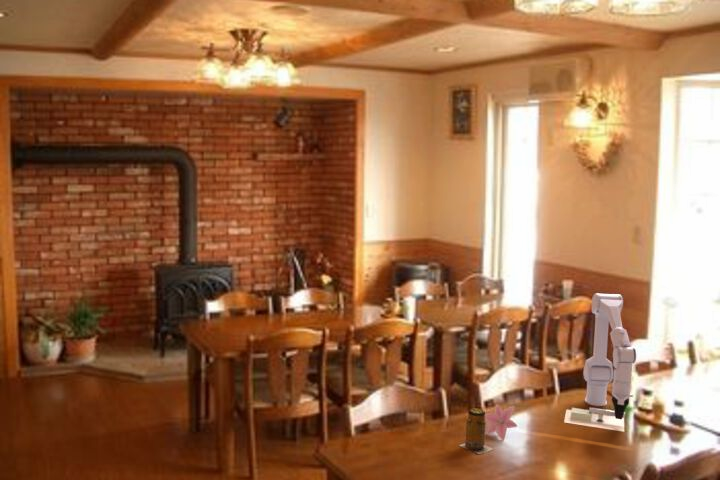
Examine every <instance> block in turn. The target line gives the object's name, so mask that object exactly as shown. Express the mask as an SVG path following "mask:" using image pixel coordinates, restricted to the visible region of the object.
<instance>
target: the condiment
mask: <svg viewBox="0 0 720 480" xmlns="http://www.w3.org/2000/svg"><path fill="white" fill-rule="evenodd" d="M485 414H486V412H485V410H483V409H481V408H470V409H468V413H467V418H466V423H465V425H466V426H465V439H464V443H462V444H459V445H458V446H460V447H461V448H464V449H466V450H469V451H471V452H473V453H474V454H475V453H476V454H478V455H480V454H484V453H488V452H489V451H493V450H494V448H492V447H490V446H488V445H486V444H485V441H486V440H485V439H486V437H485V436H486V425H487V424H486V423H487V422H486V420H485Z"/></svg>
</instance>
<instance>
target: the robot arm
mask: <svg viewBox="0 0 720 480" xmlns="http://www.w3.org/2000/svg"><path fill="white" fill-rule="evenodd" d="M623 307H624V298H623V296H622V295H621V294H619V293H616V294H615V293H611V294H610V293H598V292H596V293H594V294H593V296H592V298H591V313H592V314H594V315H595V320H594V322H595V323H594V336H593V349H592V350H593V354H592V356H591V357H589V358H588V359H586V360H585V362H584V367H583V373H582V374H583V379H584V380H585V382H586V396H585V398H584V401H585V403H586V404H588V405H591V406H595V407H603V406H606V405H607V402H608V401H607V394H608V393H607V392H608V385H610V383H612V390H611V395H612V396H611V401H612V405H613V407H614V411H615V416H614V417H615V418H616V419H622V418H624V417H623V415H624V412H626V411H625V410H626V409H627V407H628V405H629V404H630V398H633V397H634V393H631V385H632V384H631V383H632V375H633V374H632V373H633V364H635V363H636V361H637V351H636V348H635V346H634V345H633V344H632V343H631V342H630V338H629V337H630V336H629V335H628V331H627V329H625V328H623V323H622V317H621V312H622V309H623ZM609 325H610V328H611V331H610V333H609ZM609 336H610V340H611V343H612V348H613V352H612V358H613V359H612V361H610V360H609V359H608V358H607V354H608V337H609ZM613 367H614V368H613Z"/></svg>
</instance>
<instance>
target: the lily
mask: <svg viewBox="0 0 720 480" xmlns="http://www.w3.org/2000/svg"><path fill="white" fill-rule="evenodd" d="M515 408H516V407H515V405H511V406H508V407H506V408H504V409H502V408H501V406H500V405H499V404H498V403H496V404H495V407H494V412H488V413H485V420H486V423H487V424H488V425H489V426H488V429H487V430H486V432H485V435H487V436H488V435H490V434H493V433H496V434H497V436H498V437H499V439H500V440H501V441H502V442H503V441H505V438H506V434H507V430H508V429H511V428H517V427H518V424H517V423H516V422H514V420H512V419H511V417H512V415H513V413H514V411H515Z"/></svg>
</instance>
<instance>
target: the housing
mask: <svg viewBox="0 0 720 480" xmlns="http://www.w3.org/2000/svg"><path fill="white" fill-rule="evenodd" d="M571 410H572V409H566V410H565V415H564V420H563V421H564V422H563V423H565V424H567V423H568V424H571V425H580V426H583V427H584V426H586V427H589V428H590V427H591V428H592V427H593V428H597V429H599V428H600V429H604V430H612V431H618V432H623V433H624V432H625V417H623V418H622V419H616V418H615V416H611V415H604V414H603V421H598V413H592V419H591V422H588V421H581V420H574V419H571Z"/></svg>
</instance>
